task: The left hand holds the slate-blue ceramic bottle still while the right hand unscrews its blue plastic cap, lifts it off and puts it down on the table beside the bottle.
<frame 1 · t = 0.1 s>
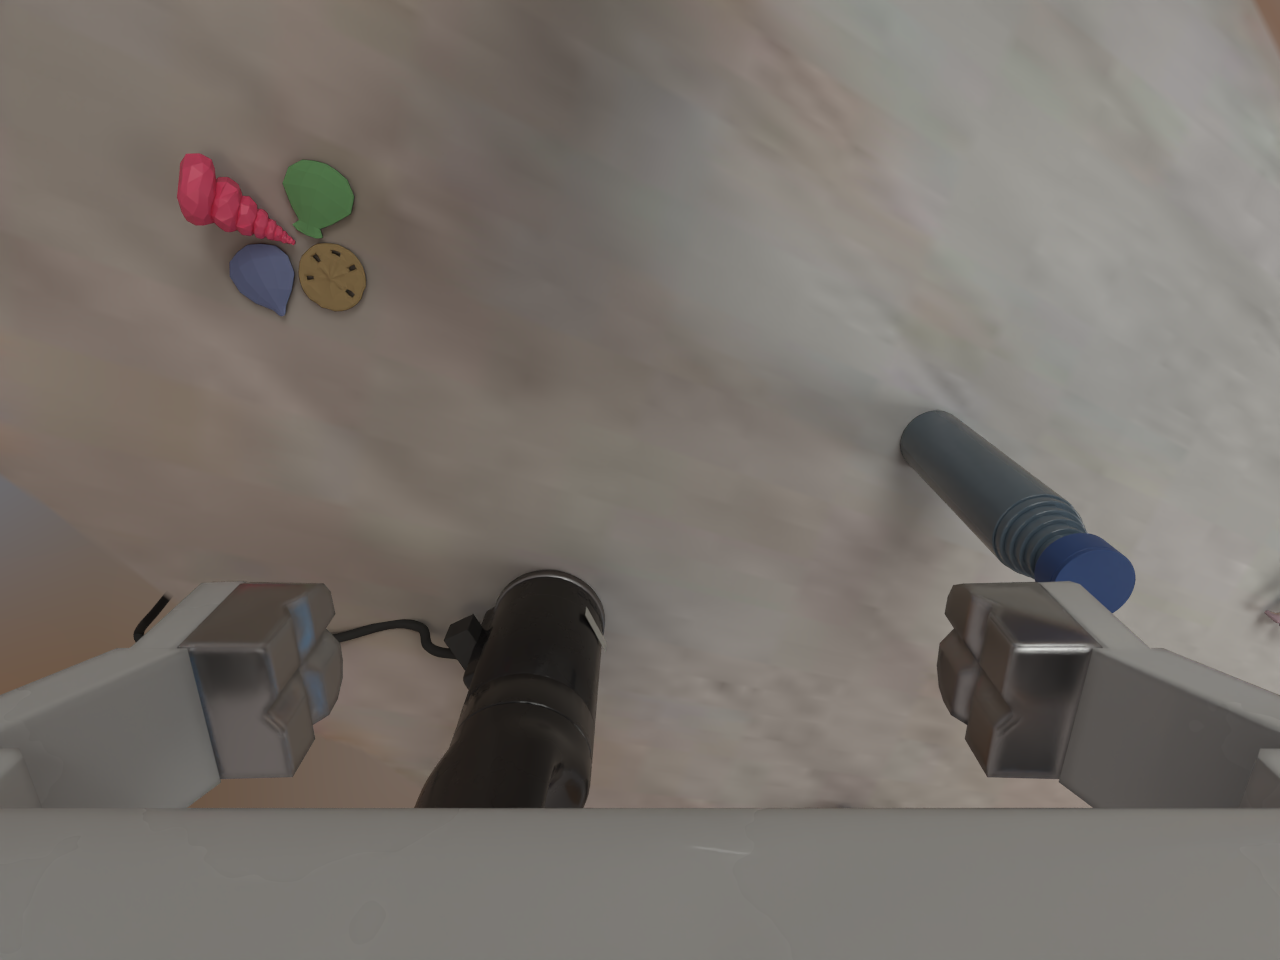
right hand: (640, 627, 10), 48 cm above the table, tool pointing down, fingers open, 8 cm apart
cap: (1090, 583, 39), point 23 cm above the table, screwed on, not yet turned
toy pieces: (286, 237, 54), on the table
bottle: (932, 441, 60), on the table
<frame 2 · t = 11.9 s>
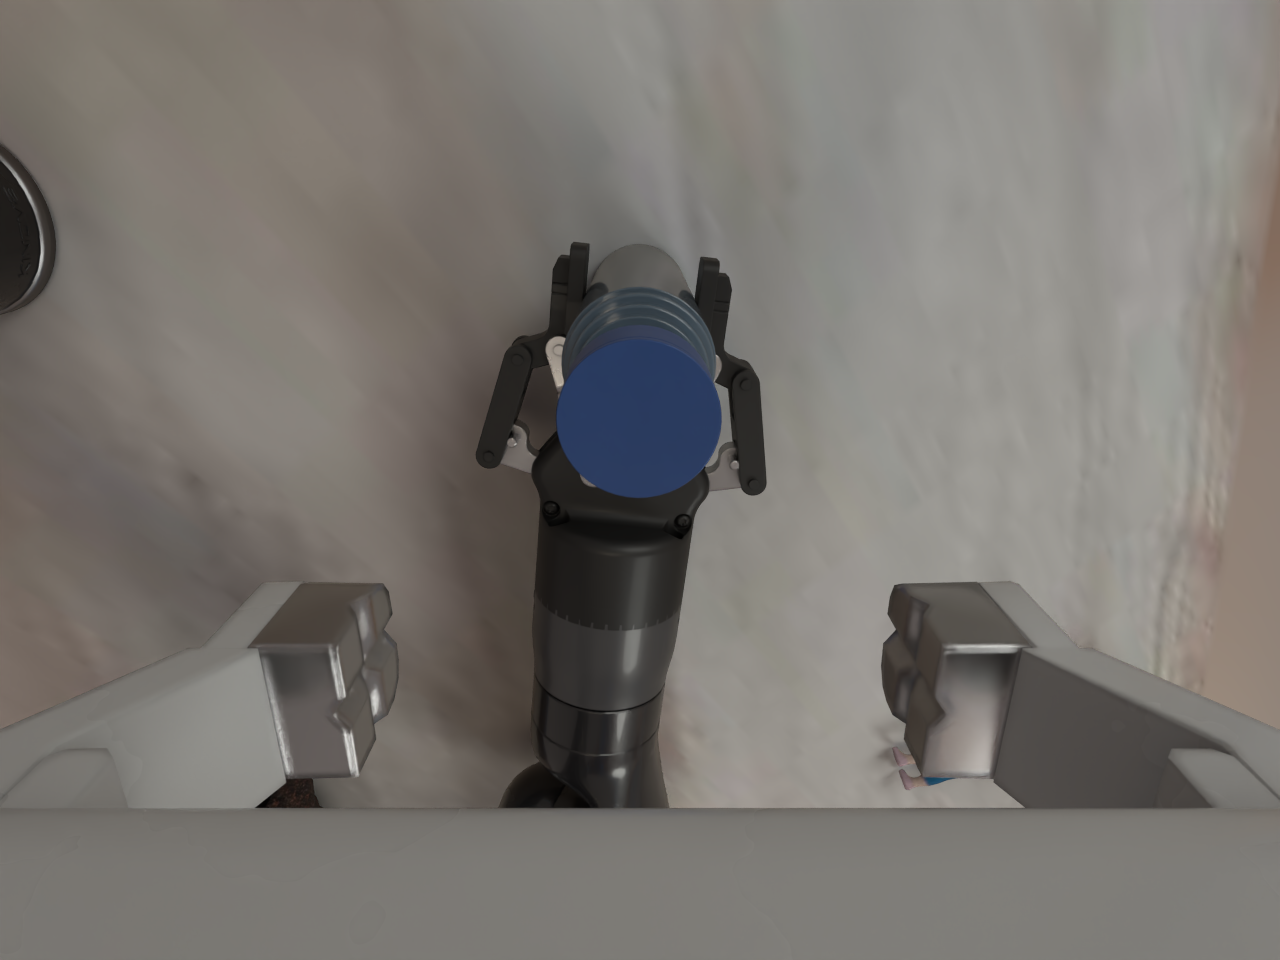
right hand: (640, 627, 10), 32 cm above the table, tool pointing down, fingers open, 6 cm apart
left hand: (644, 253, 33), fingers closed on bottle, 5 cm apart
cap: (638, 418, 19), point 23 cm above the table, screwed on, not yet turned
axe head: (201, 810, 53), on the table
bottle: (638, 293, 40), on the table, touching left hand
figurine: (1004, 727, 50), on the table
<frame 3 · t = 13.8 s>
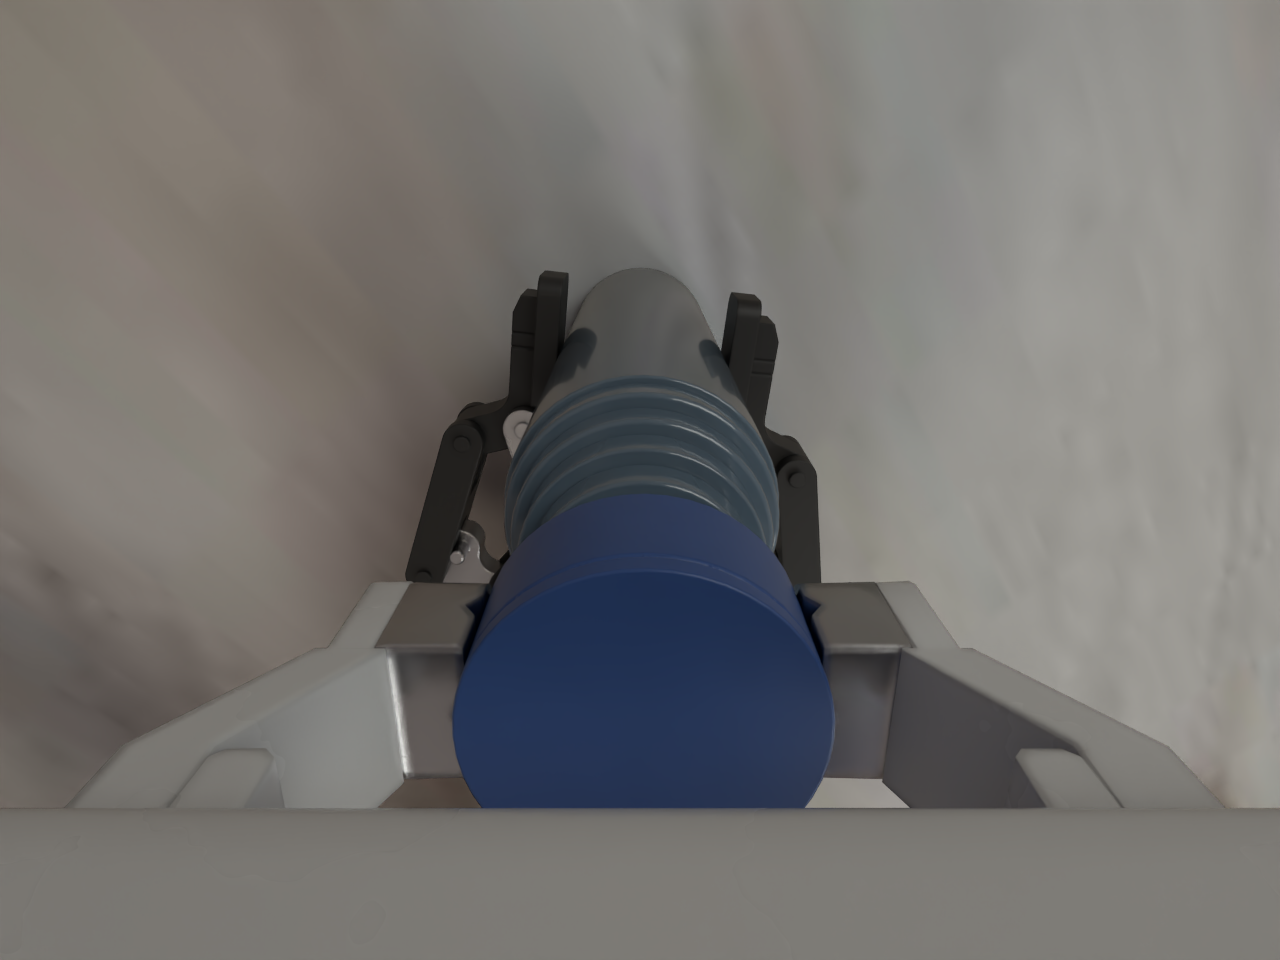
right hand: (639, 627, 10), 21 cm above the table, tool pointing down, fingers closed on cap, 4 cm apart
cap: (643, 721, 8), point 23 cm above the table, screwed on, not yet turned, touching right hand
bottle: (640, 334, 29), on the table, touching left hand
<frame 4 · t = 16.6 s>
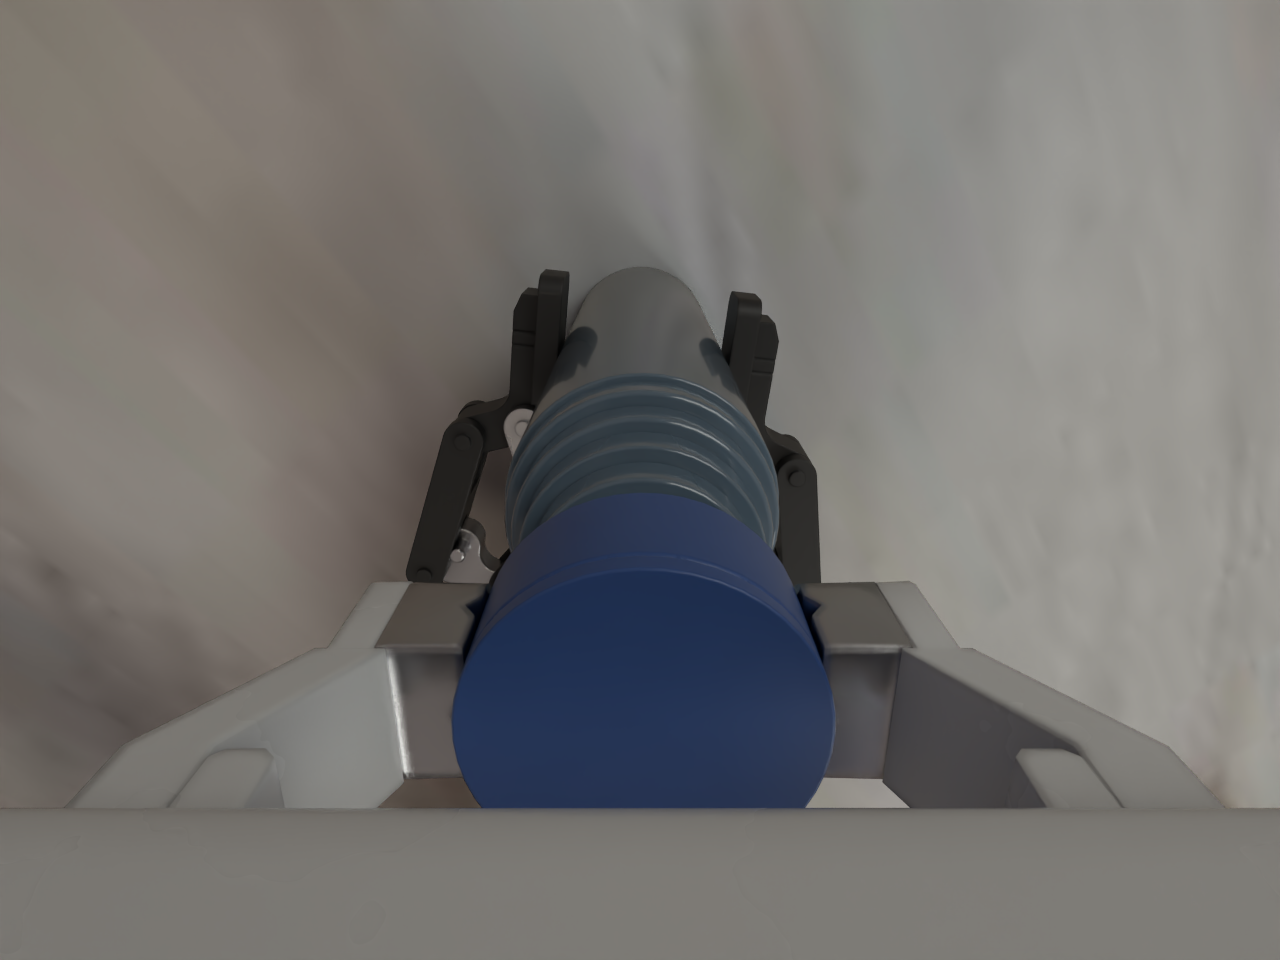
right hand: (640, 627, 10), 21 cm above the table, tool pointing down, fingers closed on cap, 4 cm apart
cap: (643, 720, 8), point 23 cm above the table, turned 70° so far, risen 0.1 cm, still on its thread, touching right hand
bottle: (640, 333, 29), on the table, touching left hand
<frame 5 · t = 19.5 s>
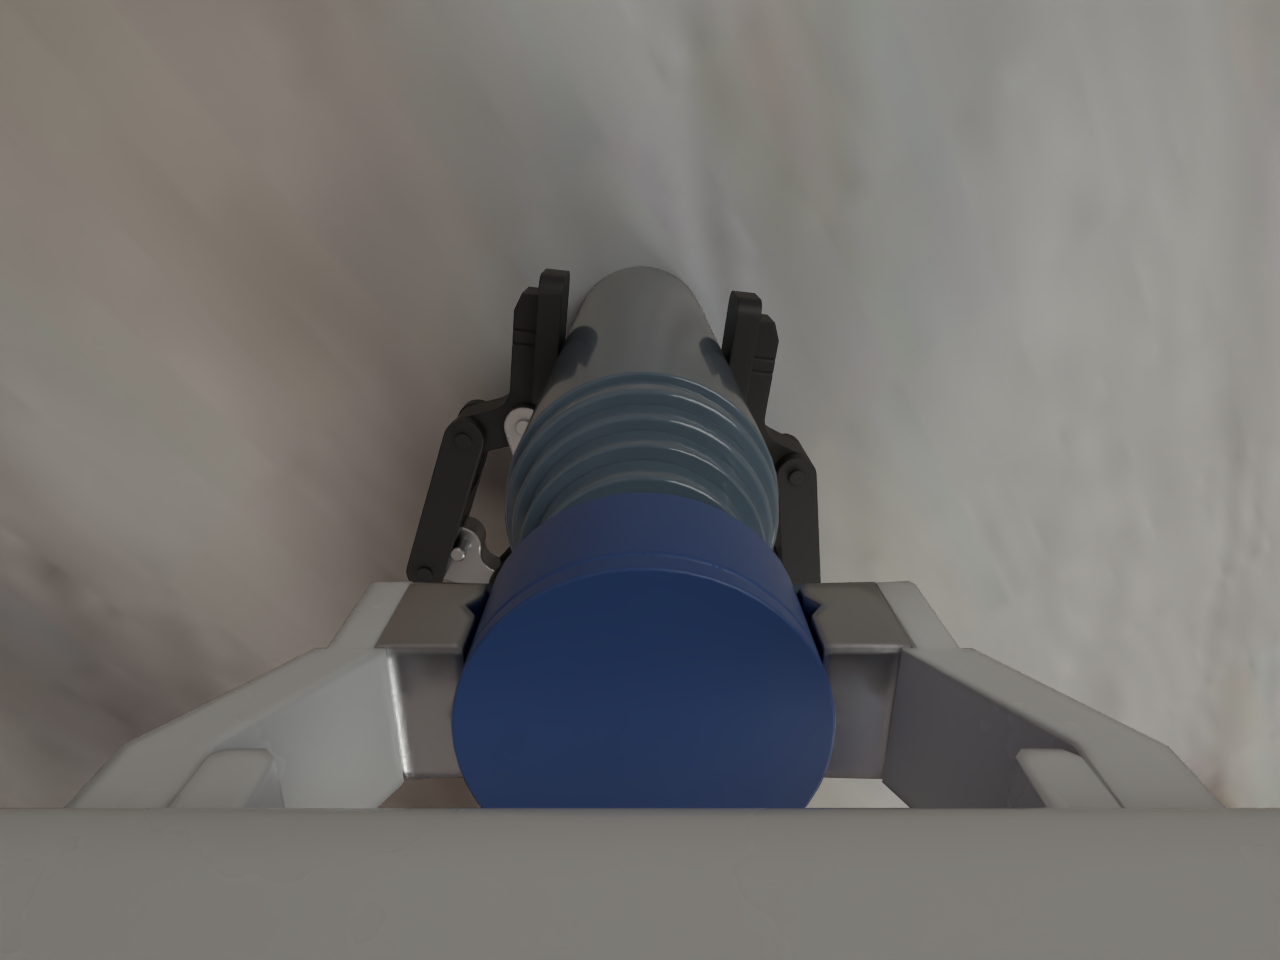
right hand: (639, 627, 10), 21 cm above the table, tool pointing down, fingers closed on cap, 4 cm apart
cap: (643, 720, 8), point 23 cm above the table, turned 140° so far, risen 0.1 cm, still on its thread, touching right hand
bottle: (640, 332, 30), on the table, touching left hand
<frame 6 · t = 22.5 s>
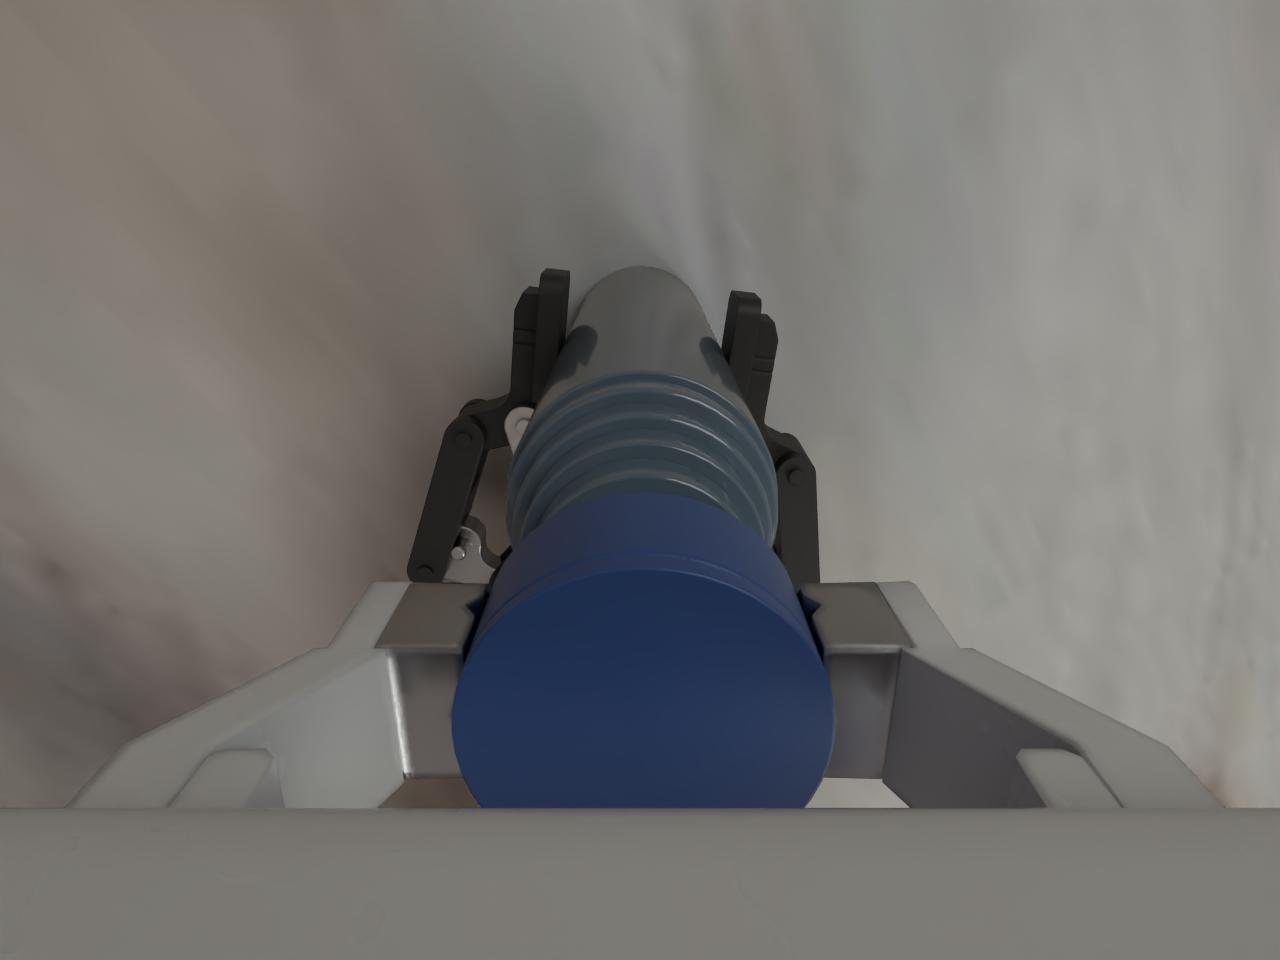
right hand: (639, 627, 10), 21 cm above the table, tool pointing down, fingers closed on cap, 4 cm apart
cap: (643, 720, 8), point 23 cm above the table, turned 209° so far, risen 0.2 cm, still on its thread, touching right hand
bottle: (640, 332, 30), on the table, touching left hand
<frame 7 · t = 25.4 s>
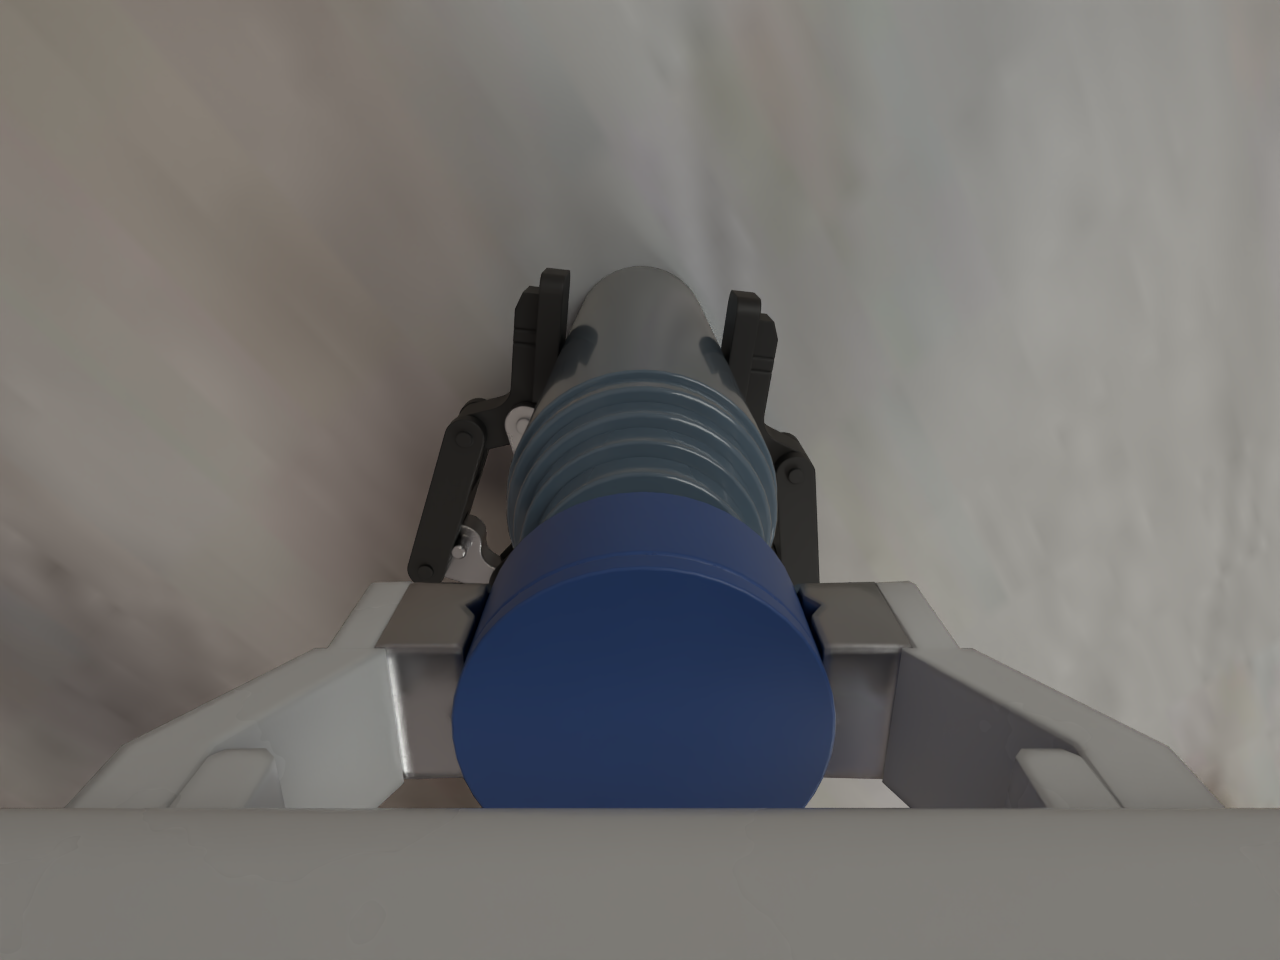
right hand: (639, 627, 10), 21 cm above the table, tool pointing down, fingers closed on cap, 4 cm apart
cap: (643, 719, 8), point 23 cm above the table, turned 279° so far, risen 0.3 cm, still on its thread, touching right hand
bottle: (640, 332, 30), on the table, touching left hand
when the right hand's fingers open (2 cm above the table, at t = 35.1 s): cap drops 2 cm, point 2 cm above the table.
when the left hand's fingers open (7 cm above the table, at t = 36.3 s): bottle stays where it is, on the table.
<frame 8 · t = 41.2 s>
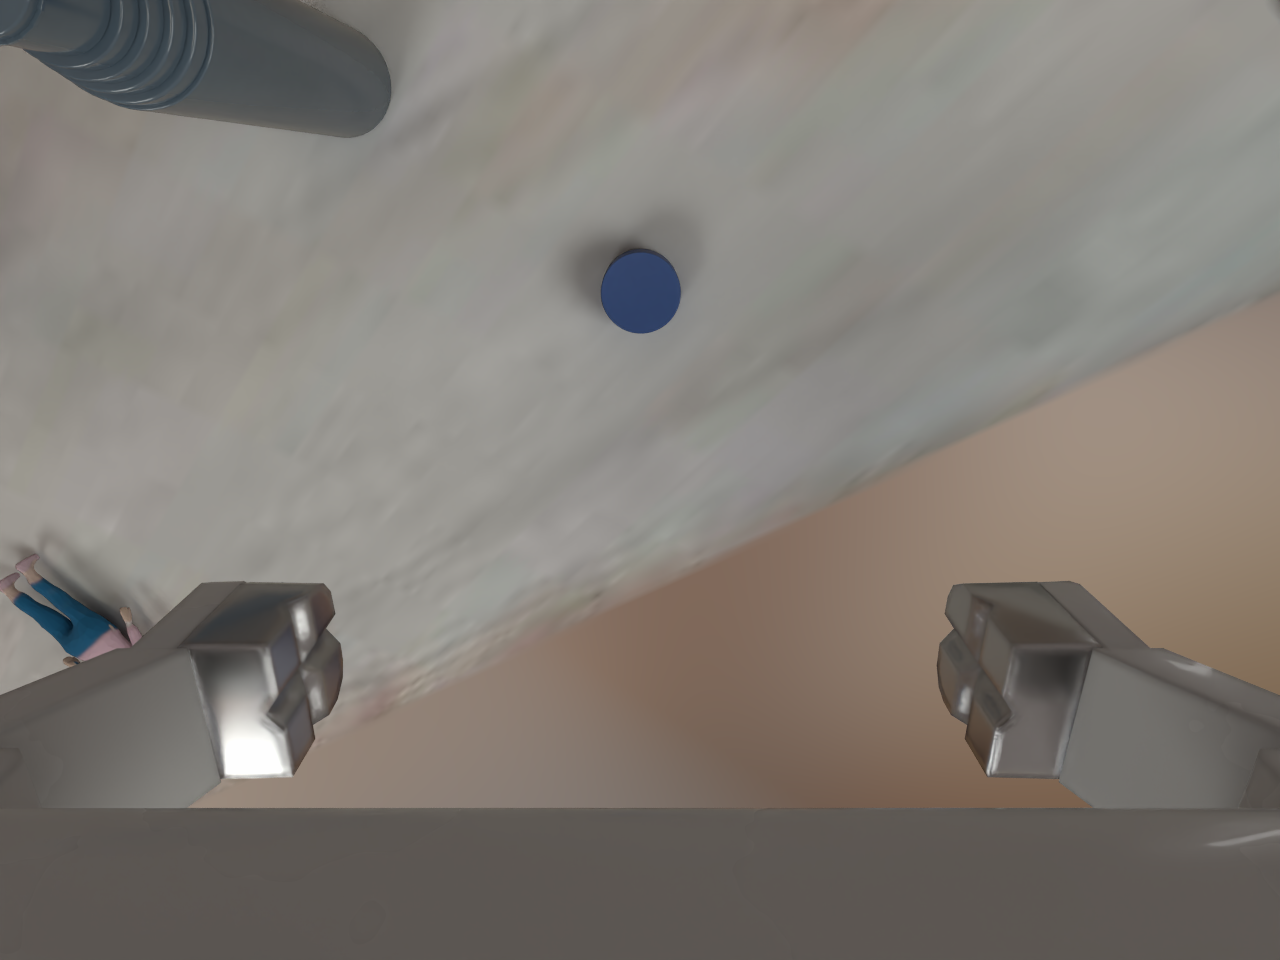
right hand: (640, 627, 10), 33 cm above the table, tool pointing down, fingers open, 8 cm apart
cap: (640, 292, 39), point 2 cm above the table, off its thread
bottle: (340, 82, 37), on the table
figurine: (126, 641, 49), on the table
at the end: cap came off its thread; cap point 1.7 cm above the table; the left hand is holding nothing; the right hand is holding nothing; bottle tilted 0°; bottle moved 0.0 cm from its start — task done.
